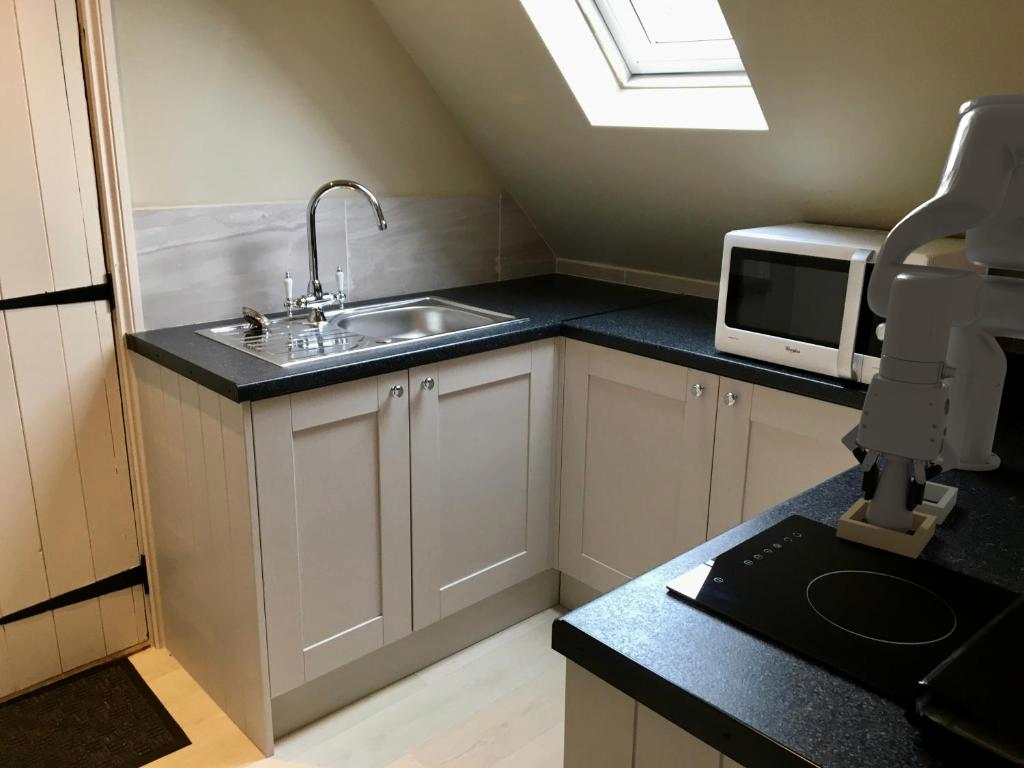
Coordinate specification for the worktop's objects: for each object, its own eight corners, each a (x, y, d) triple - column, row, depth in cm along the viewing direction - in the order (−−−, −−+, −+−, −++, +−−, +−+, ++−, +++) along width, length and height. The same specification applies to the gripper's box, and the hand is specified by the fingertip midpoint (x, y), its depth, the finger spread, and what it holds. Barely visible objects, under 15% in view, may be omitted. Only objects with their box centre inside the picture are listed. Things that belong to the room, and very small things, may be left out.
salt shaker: (897, 526, 118) (912, 436, 115) (918, 543, 112) (934, 449, 109) (856, 525, 118) (869, 435, 115) (874, 542, 112) (889, 448, 109)
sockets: (884, 487, 132) (887, 472, 132) (955, 504, 127) (958, 488, 126) (836, 536, 114) (838, 519, 113) (916, 558, 108) (919, 540, 107)
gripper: (990, 376, 107) (966, 511, 112) (852, 355, 117) (835, 479, 121) (979, 387, 101) (954, 529, 106) (834, 363, 111) (817, 494, 116)
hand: (890, 501), depth 114 cm, fingers open, 4 cm apart
